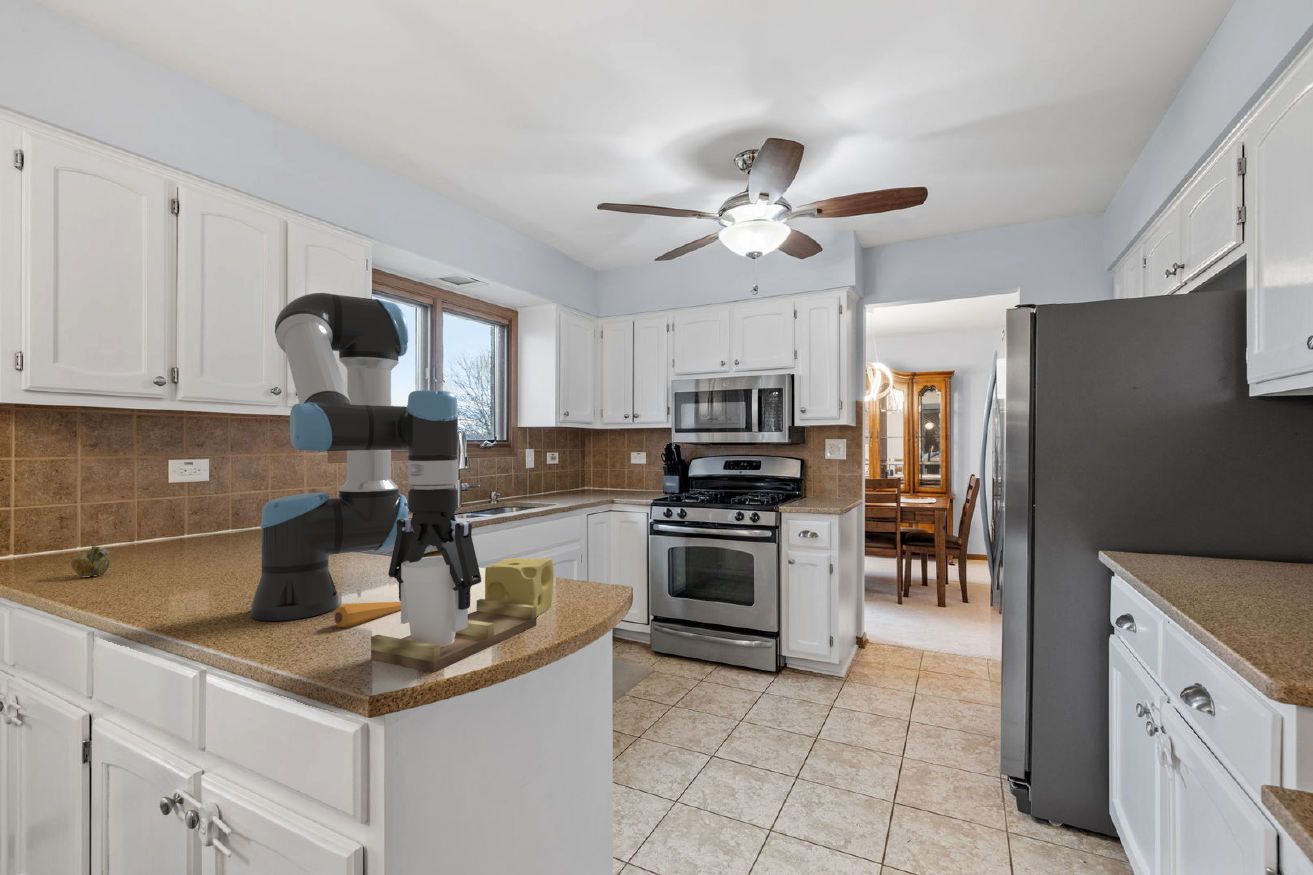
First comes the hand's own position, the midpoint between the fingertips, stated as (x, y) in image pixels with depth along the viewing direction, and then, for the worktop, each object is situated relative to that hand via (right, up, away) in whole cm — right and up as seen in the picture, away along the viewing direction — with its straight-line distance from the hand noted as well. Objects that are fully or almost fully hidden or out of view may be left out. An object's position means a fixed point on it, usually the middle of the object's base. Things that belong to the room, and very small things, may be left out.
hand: (433, 625), depth 98 cm
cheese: (+9, -5, +23) cm, 25 cm away
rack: (+3, -4, +5) cm, 7 cm away
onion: (-109, -6, +59) cm, 124 cm away
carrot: (-18, -5, +22) cm, 28 cm away
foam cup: (0, -3, 0) cm, 3 cm away
